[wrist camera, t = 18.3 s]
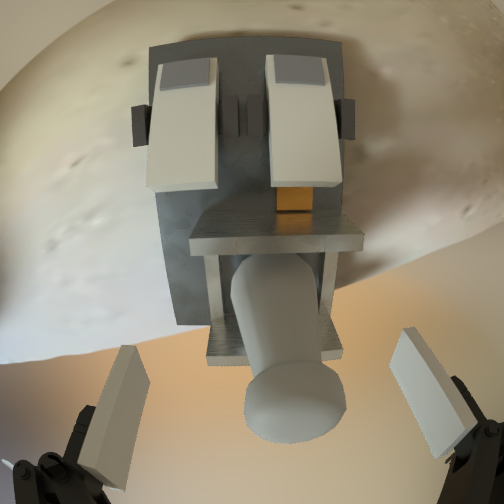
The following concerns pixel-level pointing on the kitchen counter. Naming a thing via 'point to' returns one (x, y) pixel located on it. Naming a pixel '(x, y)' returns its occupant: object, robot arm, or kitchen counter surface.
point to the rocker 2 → (301, 122)
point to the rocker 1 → (184, 127)
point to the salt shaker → (284, 350)
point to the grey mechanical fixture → (248, 195)
